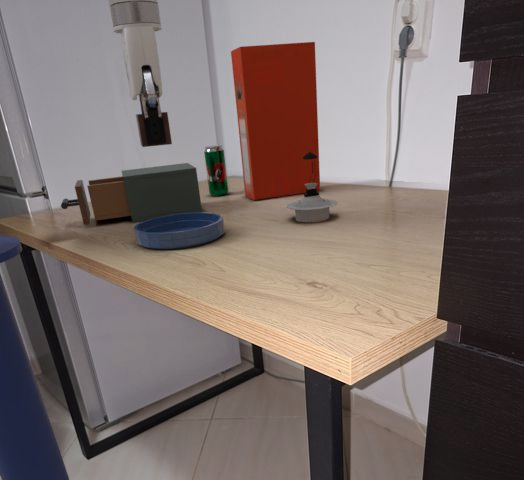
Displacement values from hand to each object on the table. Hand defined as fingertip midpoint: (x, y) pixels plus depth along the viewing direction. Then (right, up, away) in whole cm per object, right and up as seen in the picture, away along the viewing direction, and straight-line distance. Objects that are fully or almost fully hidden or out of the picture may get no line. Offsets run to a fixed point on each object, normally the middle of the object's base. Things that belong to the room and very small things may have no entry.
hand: (155, 142), depth 87 cm
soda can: (+7, +5, +45) cm, 46 cm away
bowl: (+4, -16, +5) cm, 17 cm away
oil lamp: (+29, -11, +11) cm, 32 cm away
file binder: (+24, +3, +38) cm, 45 cm away
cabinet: (-4, -4, +29) cm, 30 cm away
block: (0, 0, 0) cm, 0 cm away
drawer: (-16, -6, +26) cm, 31 cm away
